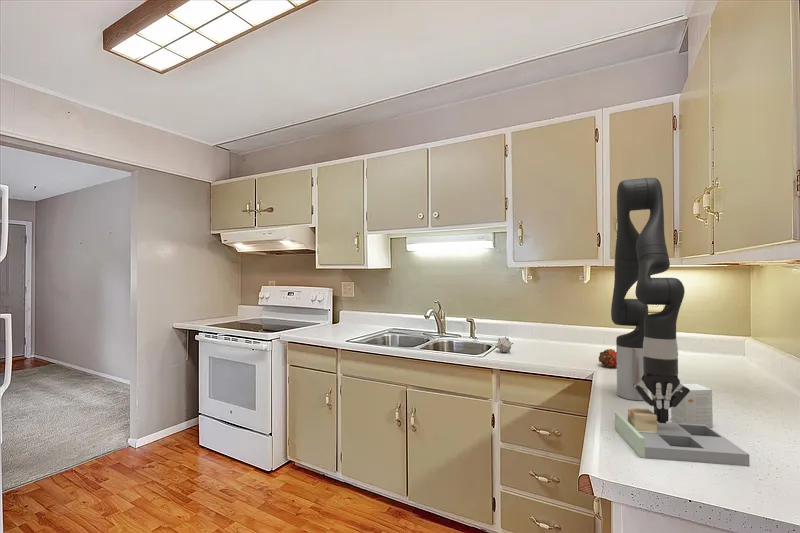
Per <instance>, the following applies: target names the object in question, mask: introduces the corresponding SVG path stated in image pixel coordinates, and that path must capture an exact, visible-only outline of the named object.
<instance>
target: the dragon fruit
mask: <svg viewBox="0 0 800 533" xmlns="http://www.w3.org/2000/svg"><path fill="white" fill-rule="evenodd" d="M598 361H599V363H600V364H601V365H603V366H604V367H607V368H609V369H611V368H613V367H615V368H617V352H616V349H615V350H614V349H611V348H608V349H604V350H603V351H600V352H599V355H598Z"/></svg>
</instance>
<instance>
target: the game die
mask: <svg viewBox="0 0 800 533" xmlns="http://www.w3.org/2000/svg"><path fill="white" fill-rule="evenodd" d="M513 344H514V343H513V342H511V341H510V340H509V338H507V337H506V336H505V337H502V338H500V337H498V340H497V343H496V345H495V347H494V348H497V349H499V352H502V354H504V353H507V352H508V353H511V351H510V350H511V349H512V348H511V347H512V345H513Z"/></svg>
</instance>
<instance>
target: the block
mask: <svg viewBox="0 0 800 533" xmlns="http://www.w3.org/2000/svg"><path fill="white" fill-rule="evenodd" d="M627 420H628V422H629V423H630V424H631V425H632V426H633V427H634V428H635V429H636V430H637V431H653V432H657V416H656V415H655V414H654V411H652V410H650V409H649V408H638V407H637V408H636V407H627Z"/></svg>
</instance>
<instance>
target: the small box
mask: <svg viewBox="0 0 800 533" xmlns="http://www.w3.org/2000/svg"><path fill="white" fill-rule="evenodd" d="M681 384H682V385H683V386H685V387H687V388H688V389H689V390H690V392H689V393H688V394H687V395H686V396H685V397H684V398H683V400H682V401H681V402H680V403H679V404H678V405H677V406H676V407H670V417H671V419H670V420H671V422H673V421H674V422H673V423H687V424H704V425H707V426H708V427H710V428H713V427H714V425H713V424H714V423H713V418H714V416H713V389H711V388H709V387H707V386H703V385H701V384H699V383H681ZM675 391H676V389H675V390H674V392H673V393H672V394H671V396H672V395H673V394H674V393H675Z"/></svg>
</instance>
